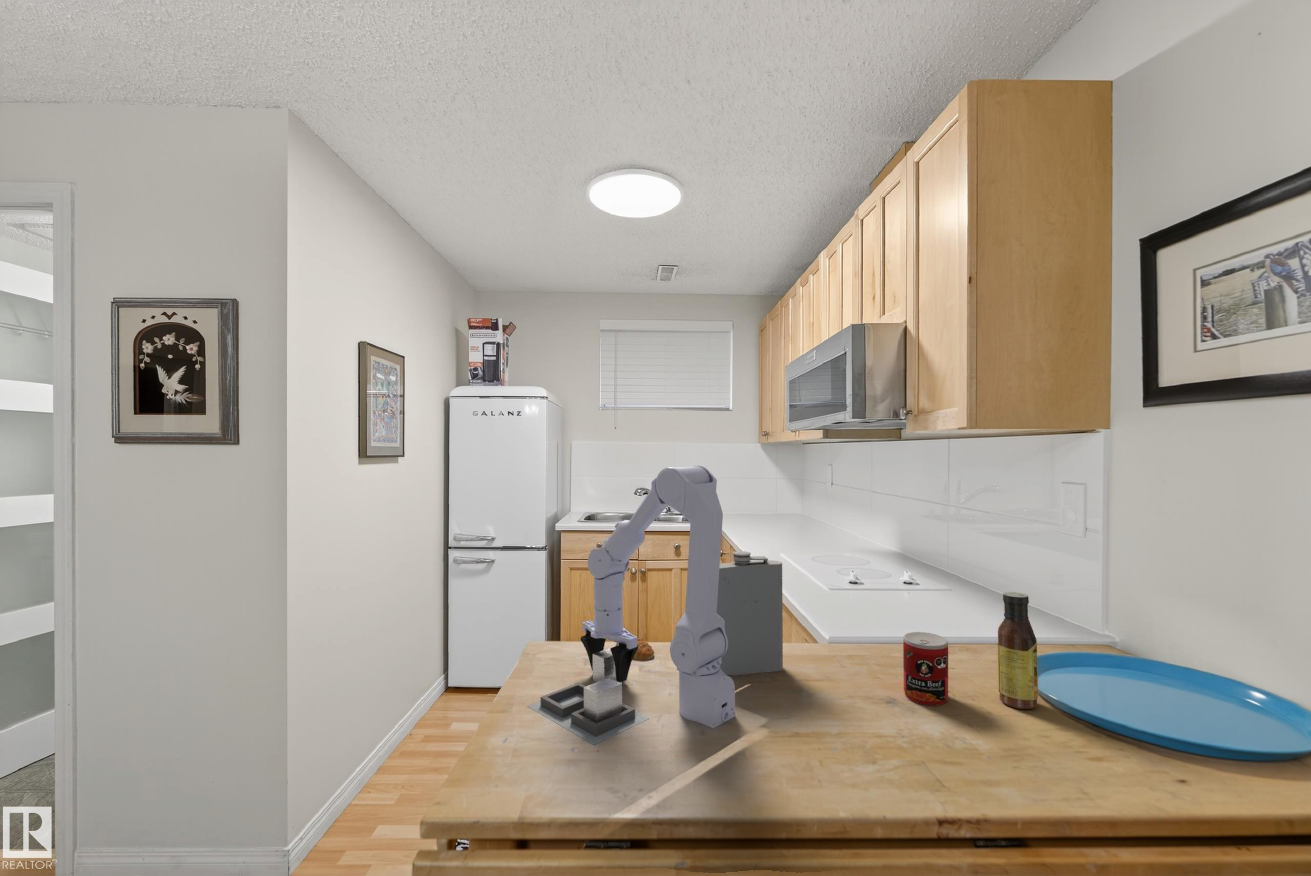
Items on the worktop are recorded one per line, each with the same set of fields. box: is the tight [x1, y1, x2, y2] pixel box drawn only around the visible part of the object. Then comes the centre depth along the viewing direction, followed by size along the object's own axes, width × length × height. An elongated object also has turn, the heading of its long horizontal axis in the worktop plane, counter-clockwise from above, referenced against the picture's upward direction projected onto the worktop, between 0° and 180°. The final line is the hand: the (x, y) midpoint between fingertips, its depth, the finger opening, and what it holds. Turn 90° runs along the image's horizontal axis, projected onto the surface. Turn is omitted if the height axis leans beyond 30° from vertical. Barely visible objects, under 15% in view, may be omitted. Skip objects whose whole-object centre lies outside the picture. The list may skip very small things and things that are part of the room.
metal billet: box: [592, 646, 617, 683], centre depth 117 cm, size 4×6×6 cm, turn 135°
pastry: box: [615, 636, 655, 661], centre depth 133 cm, size 9×7×4 cm
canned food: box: [902, 631, 949, 706], centre depth 111 cm, size 8×8×11 cm
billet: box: [584, 678, 623, 723], centre depth 100 cm, size 4×6×6 cm, turn 135°
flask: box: [717, 550, 784, 677], centre depth 124 cm, size 17×5×25 cm, turn 106°
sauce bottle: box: [996, 591, 1039, 710], centre depth 108 cm, size 7×6×20 cm
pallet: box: [527, 682, 650, 746], centre depth 103 cm, size 19×12×3 cm, turn 45°
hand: (609, 675), depth 117 cm, fingers open, 7 cm apart
